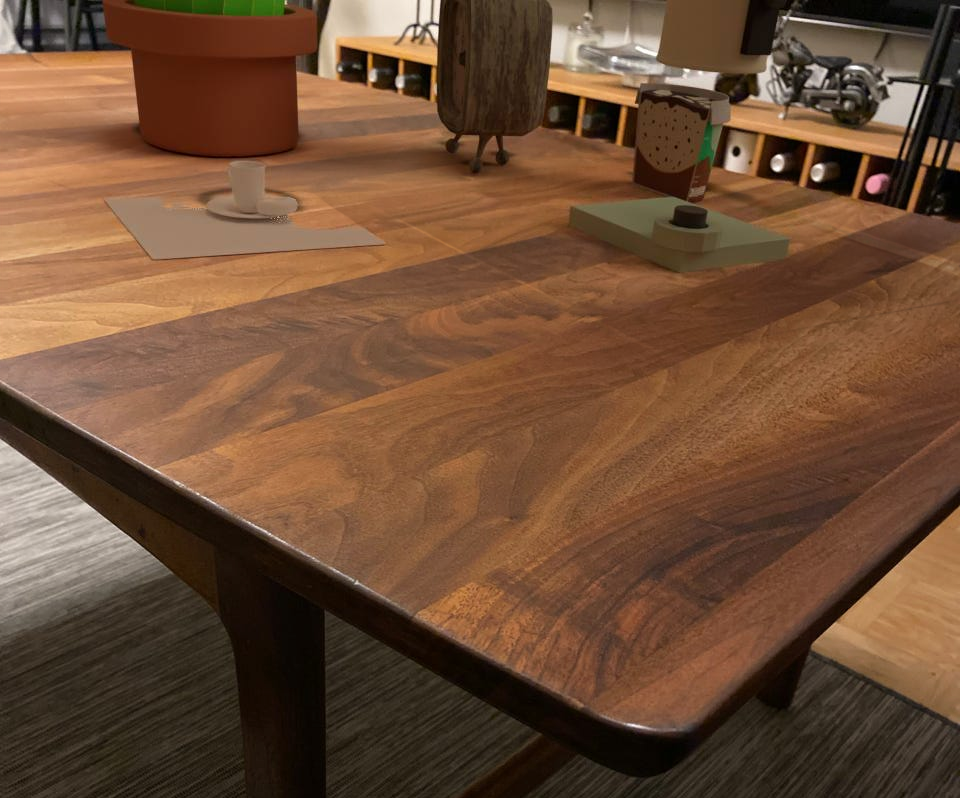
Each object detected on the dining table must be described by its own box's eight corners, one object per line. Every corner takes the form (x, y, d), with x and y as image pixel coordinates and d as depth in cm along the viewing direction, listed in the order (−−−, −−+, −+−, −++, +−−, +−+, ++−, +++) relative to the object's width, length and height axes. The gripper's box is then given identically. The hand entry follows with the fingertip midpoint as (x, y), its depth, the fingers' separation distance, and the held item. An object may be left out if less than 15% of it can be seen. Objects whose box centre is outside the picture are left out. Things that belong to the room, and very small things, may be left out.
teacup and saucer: (309, 223, 93) (308, 174, 91) (222, 228, 90) (218, 177, 87) (279, 199, 99) (277, 153, 97) (196, 203, 96) (192, 156, 94)
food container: (739, 204, 111) (760, 100, 105) (696, 208, 108) (715, 102, 103) (665, 178, 119) (680, 81, 114) (623, 181, 117) (637, 82, 111)
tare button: (711, 230, 88) (714, 211, 87) (686, 233, 87) (690, 214, 86) (689, 222, 90) (692, 203, 89) (664, 225, 89) (667, 206, 88)
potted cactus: (244, 119, 132) (229, -124, 117) (355, 151, 120) (354, -113, 106) (84, 132, 119) (46, -139, 104) (192, 171, 107) (165, -130, 92)
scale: (792, 262, 93) (802, 221, 91) (678, 278, 87) (686, 234, 85) (670, 216, 105) (676, 179, 103) (560, 227, 98) (564, 188, 96)
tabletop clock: (433, 150, 124) (443, -106, 109) (505, 152, 126) (524, -99, 111) (463, 178, 112) (479, -104, 98) (542, 179, 115) (568, -96, 100)
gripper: (638, -315, 78) (598, 29, 91) (863, -348, 64) (777, 66, 77) (711, -299, 82) (662, 30, 95) (939, -327, 67) (844, 65, 80)
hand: (714, 46), depth 86 cm, fingers closed on can, 9 cm apart
